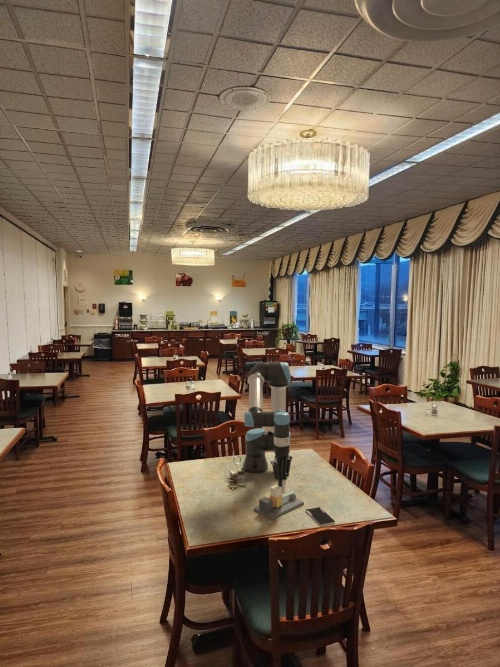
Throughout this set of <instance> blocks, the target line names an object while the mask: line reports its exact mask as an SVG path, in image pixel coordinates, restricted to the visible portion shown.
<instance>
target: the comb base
mask: <svg viewBox="0 0 500 667" xmlns="http://www.w3.org/2000/svg"><path fill="white" fill-rule="evenodd" d="M282 496H283V505H282V506H279V507H277V508H276V507H275V499H273V498H271V497H270V496H269V497H266V496H264V497H262V498H259V499H258V505H257V506H255V507H253V510H254V511H255V512H257V513H259V514H260V515H262V516H265V517H267V518H269V519H270V520H274V519H276V518H278V517H280V516H282V515H285V514H286V513H289V512H290V511H293V510H295V509H297V508H299V507H301V506H303V505H304V504H305V502H304V501H303V500H301V499H298V498H297V494H296V492H295V490H292V491H290V492H288V493H284V494H282Z"/></svg>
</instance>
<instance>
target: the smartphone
mask: <svg viewBox="0 0 500 667" xmlns="http://www.w3.org/2000/svg"><path fill="white" fill-rule="evenodd" d="M305 512H306V514H307V515H309V517H310V518H311V519H312V520H313V521H314V522H316V524H318V526H320V527H325V526H328V525H334V524H336V521H335V519H333V518H332V517H331V516H330V515H329V514H328V513H327V512H326V511H325V510H323V508H321V506H315V507H308V508H305Z"/></svg>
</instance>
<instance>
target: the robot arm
mask: <svg viewBox="0 0 500 667" xmlns="http://www.w3.org/2000/svg"><path fill="white" fill-rule="evenodd" d="M290 370H291V369H290V365H289V363H288V362H284V361H282V362H281V361H278V362H277V361H275V362H274V361H273V362H272V361H270V362H263V361H261V362H259V363H257V364H255V365H254V366H252V368H251V369H250V371H248V374H247V375H248V376H247V384H248V385H249V386H248V411H245V412H244V414H243V415H244V416H243V418H244V420H243V422H244V427H248V428H251V429H249V430H248V431H246V433H245V457H244V462H243V464H242V469H243V471H244V472H247V473H252V474H259V473H264V472H266V471H268V469H269V463H268V460H267V457H266V452H269V453H270V452H271V453H272V452H273V453H274V459H273V460H271V461H270V464H271V465H272V472H273V477H274V480H277V483H278V484H277V485H278V486H280V487H282V495H284V494H286V481H287V480H288V478H289V477H290V470H291V463H292V460H293V456H292V455H290V451H291V450H290V445H291V435H292V434H291V432H290V427H291V426H290V421H291V420H290V419H291V418H290V414H289V412H286V410H287V409H286V407H287V401H286V400H287V399H286V397H287V396H286V394H287V392H286V390H287V388H288V386H289V383H292V378H291V371H290ZM264 383H268V386H269V388H271V389H270V390H271V391H270V392H271V393H270V394H271V396H270V405H271V406H270V409H271V410H270V411H264V408H263V407H264V404H263V402H264V395H263V394H264V393H263V392H264V390H263V388H264ZM252 428H253V429H252ZM265 428H268V431H266V429H265Z"/></svg>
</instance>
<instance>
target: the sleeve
mask: <svg viewBox="0 0 500 667" xmlns="http://www.w3.org/2000/svg"><path fill="white" fill-rule="evenodd" d="M282 495H283V494H282V487H280V486H278V484H275V485H272V486H270V494H269V497H271V498H273V499H275V507H276V508H277V507H279V506H282V505H283V496H282Z"/></svg>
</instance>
